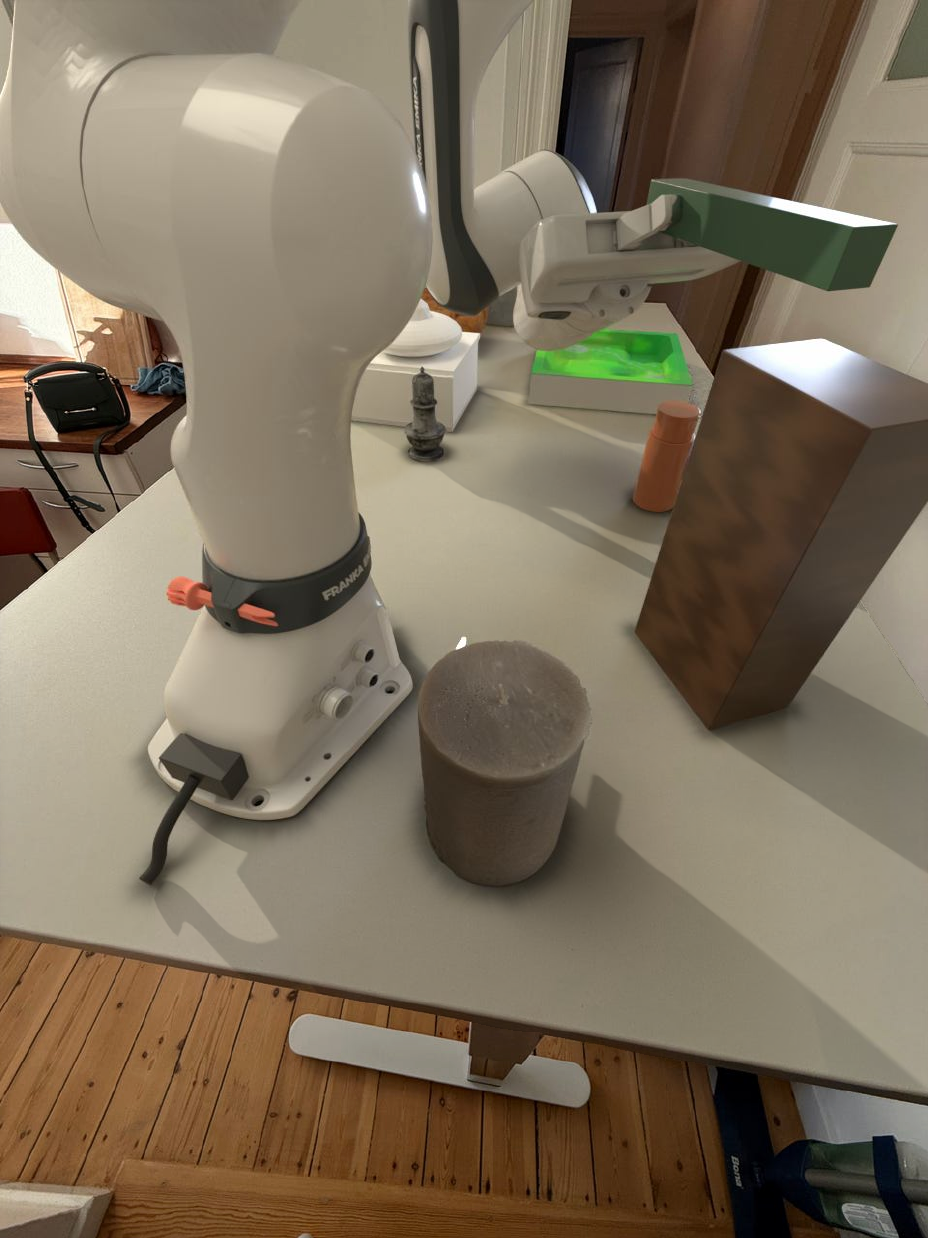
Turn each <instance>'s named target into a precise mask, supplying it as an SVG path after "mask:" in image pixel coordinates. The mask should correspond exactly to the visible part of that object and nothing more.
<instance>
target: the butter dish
mask: <svg viewBox="0 0 928 1238" xmlns="http://www.w3.org/2000/svg"><path fill="white" fill-rule="evenodd" d="M480 339H481V335H480V333H470V332H462V329H461V327H460V325H459V324H458V323H457V322H456V321H455V320H453V319H452V318H450V317H448V316H446V315H443V314H440V313H437V312H433V311H430V309H429V306H428V304H427V303H426V302H425V301H423V300H422V299H420V301H419V304H418V306H417V308H416V310H415V312H414V314H413V316H412V318H411V319H410V321H409V323H408V324H407V325H406V327H405V328H404V330H403V331H402V332H401V333H400V335H399V336H398V337H397V338H396V339H395V341H394V342H392V343H391V344H390V345H389V346H388V347H387V348H386V349H384V350H383V351H382V352H381V353H379V354H378V355H377V356H376V357H375V358H374V359H373V360H372V361H371V362H370V364H369V365H368V367H367V368H366V370H365V372H364V374H363V376H362V378H361V380H360V383H359V386H358V389H357V392H356V396H355V400H354V405H353V409H352V417H351V422H352V421H354V422H362V423H370V424H379V425H388V426H395V427H404V428H405V426H406V425H407V424H409V423H411V422H413V406H412V405H411V404H410V401H411V400H412V399H413V393H412V378H413V377H414V376H415V375H416V374H418V373H420V372H421V371H420V369H421V367H423V368H424V369H425V371H424V372H425V373H427V374H429V375H431V376H432V378H433V380H434V399H436V400H437V404H436V405H435V417H436V421H437V422H440V423H442V424H443V425H444V426H445V428H446V432H445V433H453V432H454V429H455V427H456V426H457V424H458V423H459V421H460V419H461V418H462V416H463V414H464V412H466V411H465V410H466V409H467V407H468V405H469V404H470V402H471V400H472V399H473V397H474V395H475V393H476V392H477V390H478V374H479V373H478V367H479V341H480Z"/></svg>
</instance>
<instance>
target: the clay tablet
mask: <svg viewBox="0 0 928 1238" xmlns="http://www.w3.org/2000/svg"><path fill="white" fill-rule="evenodd" d="M421 299H422V300H423V301H425V302H426V303H427V304H428V306H429V309H430V311H433V312H437V313H440V314H443V315H446V316H448V317H450V318H452V319H453V320H455V321H456V322H457V323H458V324H459V325H460V327H461V329H462V332H470V333H480V336H481V335H482V333H483V331H484V328H485V326H486V324H485V323H486V321H487V317H488V310H489V306H488V307H487V308H485V309H484V310H483V311H481V312H480V313H479V314H477V315H476V316H467V315H462V314H458V313H455V312H452V311H449V310H447V309H445V308H443V307H441V306H439V305H438V304H437V303H436V302H435V301H434V300H433V298H432V297H431V295H430V294H429V292H428V290H427V288H426V287H425V289H424V291H423V294H422V297H421Z"/></svg>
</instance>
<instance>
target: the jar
mask: <svg viewBox="0 0 928 1238" xmlns="http://www.w3.org/2000/svg"><path fill="white" fill-rule="evenodd" d="M701 416H702V413H701V410H700V408H699V407H698V406H697V405H695V404H692V403H690V402H688V403H687V402H682V401H665V402H662V403H660V404H659V406H658V409H657V413H656V414H655V417H654V421H653V425H652V427H651V428H650V429H649V431H648V433H647V438H646V442H645V446H644V451H643V455H642V459H641V463H640V467H639V470H638V473H637V478H636V483H635V487H634V491H633V493H632V501H633V503H634V504H635V505H636V506H637V507H639V508H640V509H642V510H645V511H648V512H653V513H663V512H668V511H670V510H673V507H674V504H675V501H676V498H677V494H678V491H679V488H680V485H681V482H682V478H683V475H684V472H685V469H686V466H687V463H688V459H689V456H690V453H691V450H692V447H693V443H694V440H695V437H696V434H695V431H696V428H697V424H698V421H699V420H700V419H701V418H700V417H701Z"/></svg>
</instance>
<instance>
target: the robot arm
mask: <svg viewBox="0 0 928 1238" xmlns="http://www.w3.org/2000/svg"><path fill="white" fill-rule="evenodd" d="M302 1H303V0H14V4H13V5H14V6H13V21H12V32H11V34H12V35H11V44H10V52H9V53H10V54H9V62H8V68H7V71H6V76H5V80H4V83H3V86H2V90H1V93H0V206H1V208H2V210H3V211H4V213H5V215H6V216H7V218H8V219H9V220H8V221H10V222H11V225H12V226H13V228H14V229H15V230H16V231H17V233H18V234H19V235H20V236H21V238H22V239H23V240H24V241H25V243H26V244H27V245H28V246H29V247H30V248H31V249H32V250H33V251H34V252H35V253H36V254H37V255H39V256H40V257H41V258H42V259H43V260H44V261H45V262H47V263H48V264H49V265H50V266H51V267H53V268H54V269H55V270H57V272H59V273H60V274H62V275H63V276H64V277H66V279H68V280H69V281H71V282H72V283H74V284H75V285H77V286H78V287H79V288H81V289H83V290H84V291H85V292H86V293H88V294H89V295H90V296H93V297H94V298H97V299H98V300H99V301H101V302H104V303H106V304H108V305H111V306H113V307H115V308H119V309H121V310H124V311H128V312H131V313H134V314H138V315H141V316H143V317H146V318H151V319H153V320H157V321H160V322H164V324H165V325H166V327H167V328H168V330H169V331H170V333H171V335H172V337H173V338H174V340H175V343H176V345H177V348H178V351H179V354H180V358H181V363H182V369H183V375H184V383H185V385H184V386H185V396H186V398H185V399H186V414H185V416H184V417H183V418H182V419H181V420H180V421H179V423H178V424H177V425H176V427H175V428H174V431H173V433H172V437H171V440H170V447H169V448H170V449H169V452H170V459H171V463H172V467H173V468H174V471H175V473H176V477H177V479H178V481H179V484H180V486H181V489H182V491H183V494H184V496H185V500H186V501H187V504H188V507H189V509H190V512H191V514H192V517H193V519H194V522H195V524H196V526H197V527H196V528H197V529H198V532H199V535H200V537H201V540H202V542H203V543H202V551H201V567H202V569H201V573H202V575H201V577H202V578H201V579H202V581H194V580H192V579H191V578H188V577H185V576H181V575H180V576H177V577H174V578H173V579H172V580H171V581H170V583H169V584H168V586H167V589H168V590H167V591H166V596H167V600H168V601H170V603H171V604H172V605H176V606H179V607H180V606H181V607H186V608H187V609H189V610H190V611H198V610H201V611H200V612H199V615H198V617H197V619H196V621H195V622H194V623H195V624H194V625H193V628H192V630H191V632H190V634H189V637H188V639H187V641H186V643H185V645H184V647H183V650H182V651H181V654H180V655H179V658H178V660H177V662H176V664H175V666H174V668H173V670H172V673H170V674H171V675H170V677H169V679H168V681H167V682H166V685H165V688H164V691H163V705H164V710H165V715H166V718H165V720H164V721H163V723H162V724H161V726H160V727H159V729H158V730H157V731H156V733H155V734H154V736H153V737H152V739H151V740H150V742H149V743H148V746H147V753H148V756H149V759H150V761H151V763H152V766H153V768H154V770H155V771H156V772H157V774H158V776H159V777H160V778H161V779H162V780H163V782H164V783H165V784H167V785H168V786H169V787H171V789H173V790H174V791H176V792H177V794H176V796H175V797H174V799H173V800H172V802H171V804H170V805H169V807H168V808H167V810H166V812H165V814H164V816H163V817H162V819H161V821H160V823H159V826H158V827H157V830H156V832H155V835H154V837H153V841H152V845H151V846H152V847H151V860H150V863H149V865H148V867H147V868H146V870H144V872H143V873H142V874H141V875H140V876H139V878H138V879H139V880H140V881H142V882H143V883H145V884H147V885H149V886H152V885H153V883H154V881H156V879H157V878H159V876H160V874H161V873H162V871H163V869H164V867H165V864H166V862H167V857H168V845H169V840H170V837H171V834H172V832H173V830H174V827H175V826H176V824H177V821H178V819H179V818H180V816H181V814H182V812H183V811H184V809H185V807H186V806H187V805H188V804H189V801H192V802H194V803H197V804H198V805H200V806H203V807H205V808H207V809H211V810H213V811H215V812H218V813H221V814H223V815H226V816H227V815H228V816H231V817H236V818H239V819H240V818H241V819H246V820H255V821H274V820H282V819H287V818H291V817H295V816H296V815H297V814H298V813H300V812H301V811H302V810H303V809H304V808H305V807H306V806H307V805H308V804H309V802H311V801H312V799H314V798H315V796H316V795H317V794H318V793H319V792H320V791H321V790H322V789H323V788H324V787H325V785H326V784H327V783H328V782H329V781H330V780H331V779H332V778H333V777H335V775H336V774H337V773H338V771H340V769H341V768H342V767H344V765H345V764H346V763H348V761H349V759H351V757H353V755H354V754H356V752H357V751H358V750H359V749H360V747H362V745H364V743H365V742H366V741H367V740H368V739H369V738H370V737H371V736H372V735H373V734H374V733H375V732H376V730H377V729H378V728H379V727H380V726H381V725H382V724H383V723H384V722H385V721H386V720H387V719H388V717H390V716H391V714H392V713H393V712H394V711H395V710H396V709H397V708H398V707H399V706H400V705H401V704H402V702H404V700H405V699H406V698H407V697H408V696H409V695H411V693H412V691H413V689H414V683H413V679H412V675H411V674H410V672H409V670H408V669H407V667H406V665H405V664H404V663H403V662H402V660H401V659H400V656H399V651H398V647H397V643H396V640H395V635H394V631H393V627H392V624H391V620H390V617H389V613H388V610H387V607H386V606H385V603H384V601H383V599H382V597H381V595H380V593H379V590H378V588H377V586H376V585H375V582H374V580H373V578H372V576H371V575H372V574H371V571H372V564H373V561H372V554H371V553H372V545H371V539H370V536H369V535H368V530H367V525H366V522H365V519H364V517H363V516H362V514H361V513H360V512H359V506H358V498H357V491H356V482H355V473H354V464H353V456H352V454H353V453H352V446H351V444H352V443H351V430H352V429H351V428H352V427H351V426H352V420H351V417H352V409H353V405H354V400H355V396H356V392H357V389H358V386H359V383H360V380H361V378H362V376H363V374H364V372H365V370H366V368H367V367H368V365H369V364H370V362H371V361H372V360H373V359H374V358H375V357H376V356H377V355H378V354H379V353H381V352H382V351H383V350H384V349H386V348H387V347H388V346H389V345H390V344H391V343H392V342H394V341H395V339H396V338H397V337H398V336H399V335H400V333H401V332H402V331H403V330H404V328H405V327H406V325H407V324H408V323H409V321H410V319H411V318H412V316H413V314H414V312H415V310H416V308H417V306H418V304H419V301H420V299H421V297H422V294H423V291H424V289H425V288H427V290H428V292H429V294H430V295H431V297H432V298H433V300H434V301H435V302H436V303H437V304H438V305H439V306H441V307H443V308H445V309H447V310H449V311H452V312H455V313H458V314H462V315H467V316H476V315H477V314H479V313H480V312H481V311H483V310H484V309H485V308H487V307H488V306H489V305H491V304H492V303H493V302H495V301H496V300H498V298H499V297H500V296H501V295H503V294H505V293H506V292H508V291H510V290H511V289H513V288H515V287H516V286H517V298H516V302H515V306H514V311H513V323H514V326H513V327H514V330H515V332H516V334H517V336H518V337H519V339H520V340H521V341H522V342H523V343H524V344H525V345H526V346H529V347H530V348H532V349H534V350H536V351H537V350H540V351H557V350H561V349H565V348H568V347H571V346H573V345H575V344H577V343H579V342H581V341H583V340H585V339H587V338H588V337H590V336H591V335H592V334H594V332H598V331H601V330H603V329H608V328H609V327H611V326H613V325H615V324H617V323H619V322H620V321H622V320H624V319H627V318H628V317H630V316H631V315H632V314H634V313H636V312H637V311H638V310H639V309H640V308H641V307H642V306H643V304H644V302H645V301H646V300H647V298H648V296H649V294H650V291H651V289H652V285H655V284H667V283H677V282H687V281H694V280H698V279H701V278H705V277H707V276H710V275H713V274H715V273H717V272H719V271H723V270H725V269H726V268H729V267H731V266H734V265H735V264H738V263H739V262H741V261H740V260H737V259H734V258H731V257H728V256H726V255H723V254H720V253H717V252H714V251H711V250H708V249H706V248H703V247H700V246H697V245H694V244H691V243H689V242H686V241H683V240H680V239H677V238H674V237H671V236H669V235H666V234H663V233H660V232H659V231H666V230H669V229H671V228H672V227H673V226H674V225H676V224H677V223H679V222H680V220H681V218H682V207H681V204H682V197H681V195H679V194H674V195H661V196H660V197H659V198H657V199H656V200H655V201H654V202H653V203H651V204H649V205H647V204H646V205H643V206H641V207H638V208H636V209H633V210H629V211H627V210H626V211H611V212H610V211H609V212H597V207H596V203H595V201H594V197H593V195H592V193H591V190H590V187H589V186H588V184H587V182H586V179H585V177H584V176H583V175H582V173H581V171H579V170H578V169H577V167H576V166H575V165H574V164H573V163H572V162H571V161H569V160H568V159H567V158H566V157H564V156H563V155H562V154H560V153H558V152H556V151H553V150H550V149H540V150H538V151H536V152H534V153H533V154H530V155H529V156H526V157H525V158H523V159H522V160H520V161H517V162H516V163H515V164H513V165H510V166H509V167H506V169H504V170H502V171H500V173H499V174H497V175H495V176H494V177H492V178H490V179H489V180H487V181H485V182H483V183H481V184H479V185H477V186H476V187H475V113H476V112H475V111H476V104H477V98H478V94H479V90H480V87H481V83H482V82H483V78H484V75H485V73H486V71H487V69H488V67H489V65H490V64H491V62H492V60H493V58H494V56H495V54H496V52H497V51H498V49H499V48H500V46H501V44H502V43H503V41H504V40H505V38H506V37H507V36H508V34H509V33H510V31H511V30H512V28H513V27H514V26H515V24H516V23H517V22H518V21H519V19H520V18H521V17H522V15H523V14H524V13H525V11H526V10H528V8H529V7H530V5H532V3H533V2H534V1H535V0H407V45H408V47H407V48H408V65H409V81H410V82H409V84H410V96H411V98H410V99H411V113H412V114H411V115H412V129H413V141H414V142H413V143H414V145H413V143H412V141H411V138H410V137H409V134H408V133H407V130H406V128H404V126H403V124H402V123H401V121H400V120H399V118H398V117H397V115H396V114H395V113H394V112H393V111H392V110H391V108H390V107H389V106H388V105H387V104H386V103H384V102H383V101H382V100H381V99H380V98H379V97H377V96H376V95H374V94H373V93H371V92H370V91H368V90H366V89H364V88H362V87H359V86H357V85H355V84H353V83H350V82H348V81H345V80H343V79H341V78H339V77H336V76H334V75H331V74H328V73H326V72H324V71H321V70H318V69H315V68H312V67H310V66H307V65H304V64H301V63H298V62H295V61H292V60H290V59H287V58H284V57H280V56H277V55H276V52H277V50H278V47H279V44H280V42H281V40H282V38H283V35H284V32H285V30H286V29H287V27H288V25H289V23H290V20H291V19H292V17H293V15H294V14H295V12H296V10H297V8H298V7H299V5H300V3H302ZM170 603H169V604H170ZM466 643H467V637H465V636H463V637H461V640H460V641H459V643H458V644H457V646H456V647H455V650H456V649H459V648H461V647H464V646H466V645H467V644H466ZM388 692H392V693H388ZM260 801H263V802H262V803H261V804H260V805H257V806H256V804H257V803H258V802H260Z"/></svg>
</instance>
